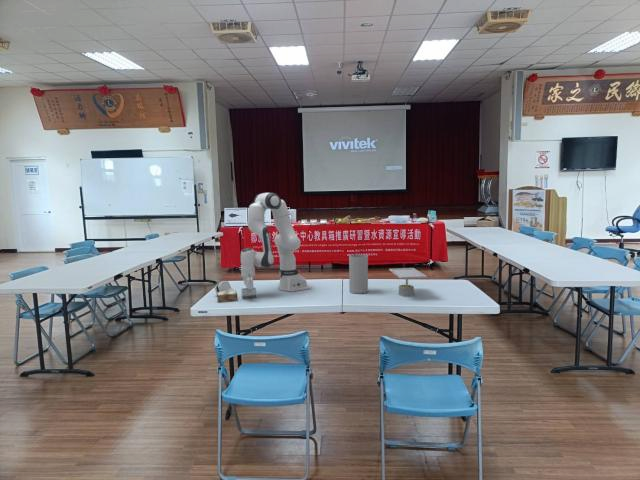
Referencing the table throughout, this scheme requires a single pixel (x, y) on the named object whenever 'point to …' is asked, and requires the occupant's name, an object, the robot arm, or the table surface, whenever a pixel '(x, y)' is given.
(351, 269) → the cylinder vase
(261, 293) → the table surface
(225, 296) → the stand
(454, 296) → the table surface
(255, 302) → the table surface
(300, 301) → the table surface
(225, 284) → the hinge
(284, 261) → the robot arm
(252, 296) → the block
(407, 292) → the solar panel model
